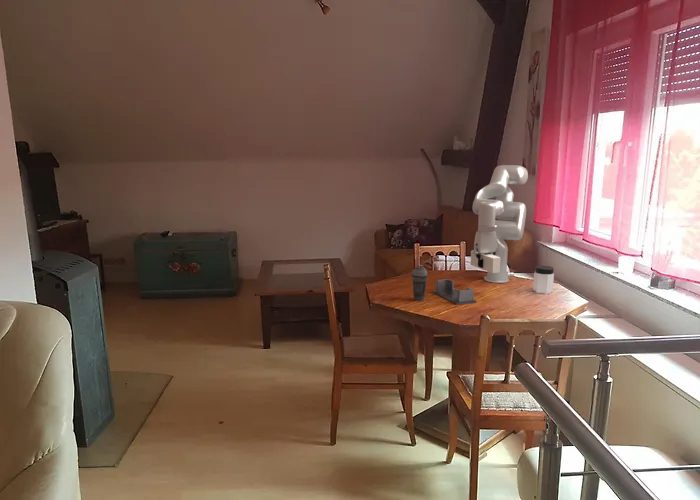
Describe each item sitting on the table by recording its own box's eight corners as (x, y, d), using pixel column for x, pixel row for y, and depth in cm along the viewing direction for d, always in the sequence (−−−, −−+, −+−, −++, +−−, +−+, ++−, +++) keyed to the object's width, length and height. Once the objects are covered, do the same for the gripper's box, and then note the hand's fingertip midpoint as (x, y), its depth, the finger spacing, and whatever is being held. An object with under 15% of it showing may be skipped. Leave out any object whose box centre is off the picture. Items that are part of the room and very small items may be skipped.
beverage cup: (417, 302, 236) (418, 259, 233) (407, 298, 243) (409, 256, 239) (430, 300, 240) (431, 257, 236) (421, 296, 246) (422, 254, 242)
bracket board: (450, 290, 257) (451, 278, 256) (476, 302, 237) (476, 289, 236) (432, 292, 254) (432, 280, 252) (457, 304, 233) (457, 291, 232)
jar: (555, 293, 251) (556, 269, 249) (538, 294, 251) (539, 269, 249) (547, 289, 260) (549, 265, 258) (531, 289, 260) (532, 265, 257)
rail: (477, 263, 258) (477, 249, 256) (499, 272, 242) (500, 257, 241) (470, 264, 256) (471, 250, 254) (492, 273, 241) (493, 258, 239)
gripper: (496, 225, 251) (495, 263, 255) (466, 228, 245) (465, 266, 250) (506, 228, 244) (504, 266, 248) (475, 231, 239) (474, 270, 243)
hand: (484, 266), depth 249 cm, fingers closed on rail, 4 cm apart
